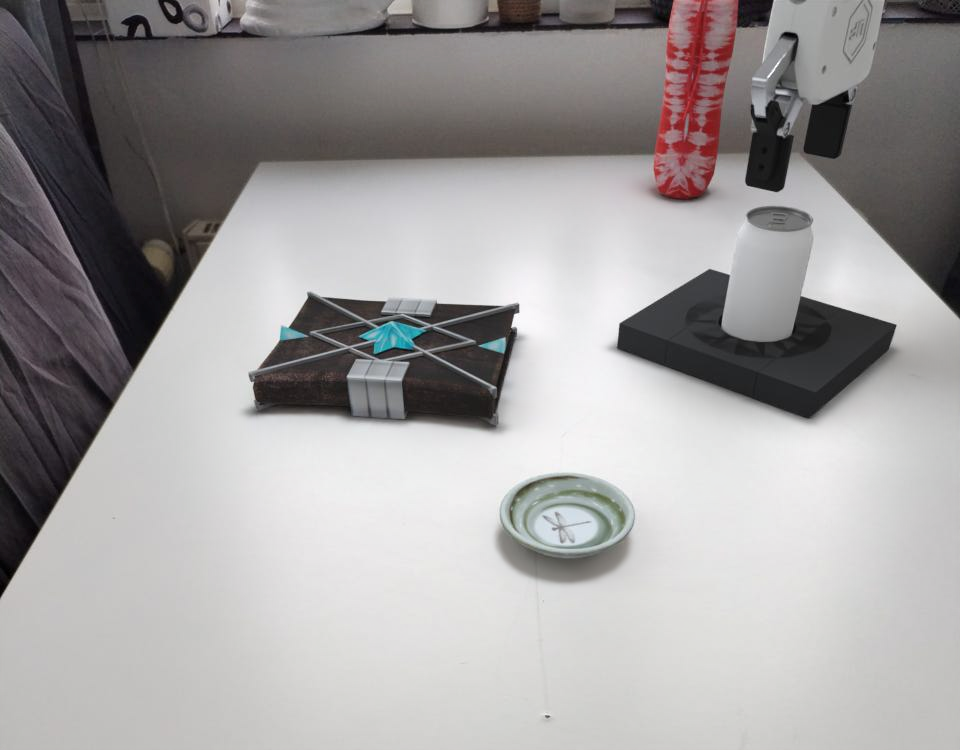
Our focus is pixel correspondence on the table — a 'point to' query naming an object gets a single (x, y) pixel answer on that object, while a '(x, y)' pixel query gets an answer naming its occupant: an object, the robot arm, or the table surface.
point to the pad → (757, 346)
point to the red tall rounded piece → (693, 94)
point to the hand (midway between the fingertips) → (793, 171)
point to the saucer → (567, 515)
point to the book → (390, 357)
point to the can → (768, 273)
